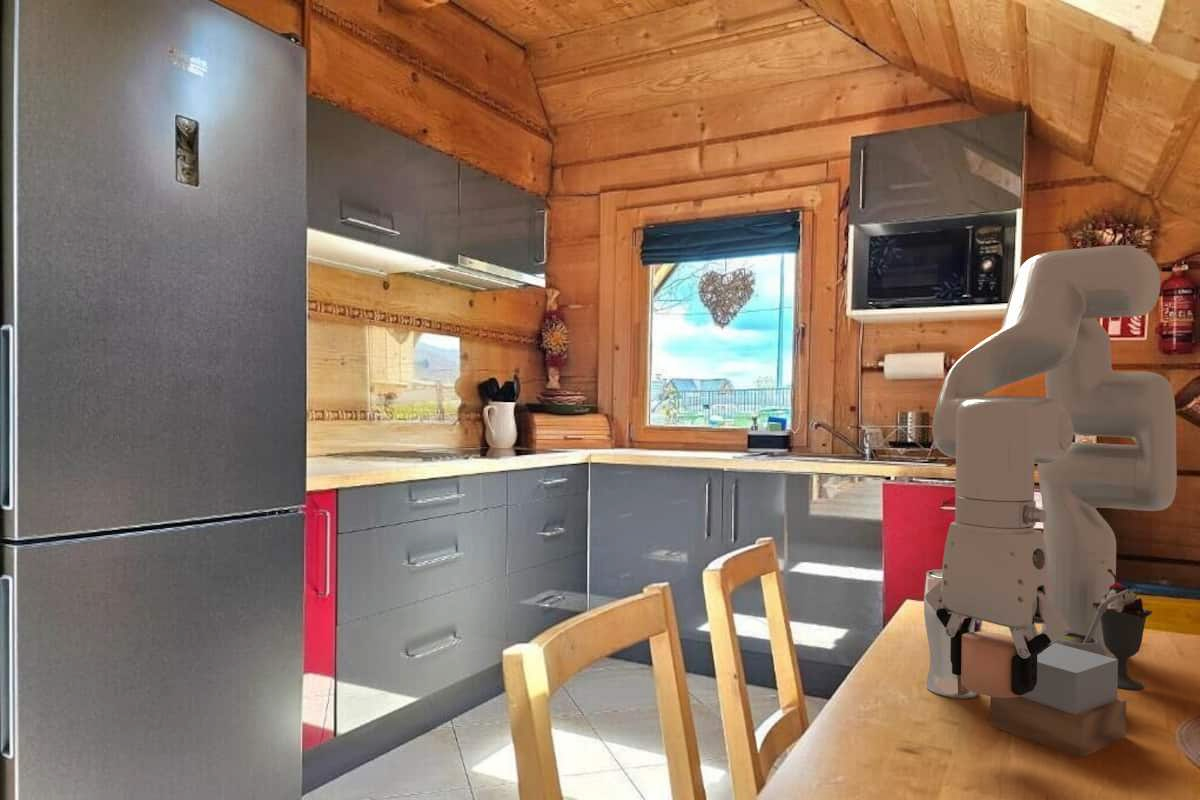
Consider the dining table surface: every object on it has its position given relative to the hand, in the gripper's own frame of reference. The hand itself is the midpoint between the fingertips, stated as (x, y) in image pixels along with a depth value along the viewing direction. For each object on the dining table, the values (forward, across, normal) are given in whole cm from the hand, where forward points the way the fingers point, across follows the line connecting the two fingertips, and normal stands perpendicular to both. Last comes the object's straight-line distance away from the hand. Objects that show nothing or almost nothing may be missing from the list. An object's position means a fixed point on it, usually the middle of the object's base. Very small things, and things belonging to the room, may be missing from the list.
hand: (992, 680), depth 84 cm
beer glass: (+8, +13, -13) cm, 20 cm away
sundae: (+8, +2, -35) cm, 36 cm away
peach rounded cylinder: (+1, 0, 0) cm, 1 cm away
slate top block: (+4, -1, -12) cm, 12 cm away
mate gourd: (+8, +2, -23) cm, 25 cm away
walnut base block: (+8, -1, -12) cm, 14 cm away
